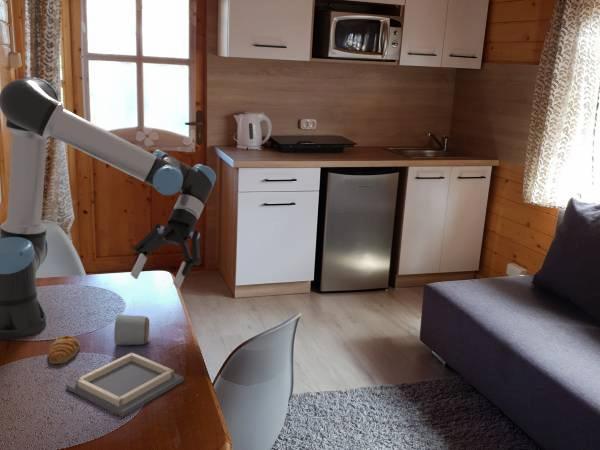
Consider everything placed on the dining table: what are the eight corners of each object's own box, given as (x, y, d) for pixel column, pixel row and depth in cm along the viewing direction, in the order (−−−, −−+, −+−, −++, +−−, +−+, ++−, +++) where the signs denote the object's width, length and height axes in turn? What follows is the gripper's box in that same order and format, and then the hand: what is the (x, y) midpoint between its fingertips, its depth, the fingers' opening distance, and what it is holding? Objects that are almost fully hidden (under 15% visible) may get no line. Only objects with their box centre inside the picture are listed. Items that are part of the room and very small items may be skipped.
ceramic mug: (147, 349, 152) (147, 321, 150) (114, 350, 150) (113, 321, 148) (151, 331, 162) (150, 305, 160) (119, 332, 160) (118, 305, 159)
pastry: (71, 366, 142) (70, 351, 141) (42, 366, 142) (41, 351, 140) (81, 347, 151) (80, 333, 150) (53, 348, 150) (52, 334, 149)
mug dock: (66, 388, 132) (65, 378, 132) (129, 357, 147) (129, 348, 146) (122, 416, 123) (121, 406, 122) (183, 380, 138) (183, 371, 137)
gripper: (229, 227, 168) (200, 295, 159) (154, 215, 177) (123, 279, 168) (219, 213, 162) (189, 283, 152) (143, 201, 171) (109, 266, 161)
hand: (154, 281), depth 160 cm, fingers open, 13 cm apart
